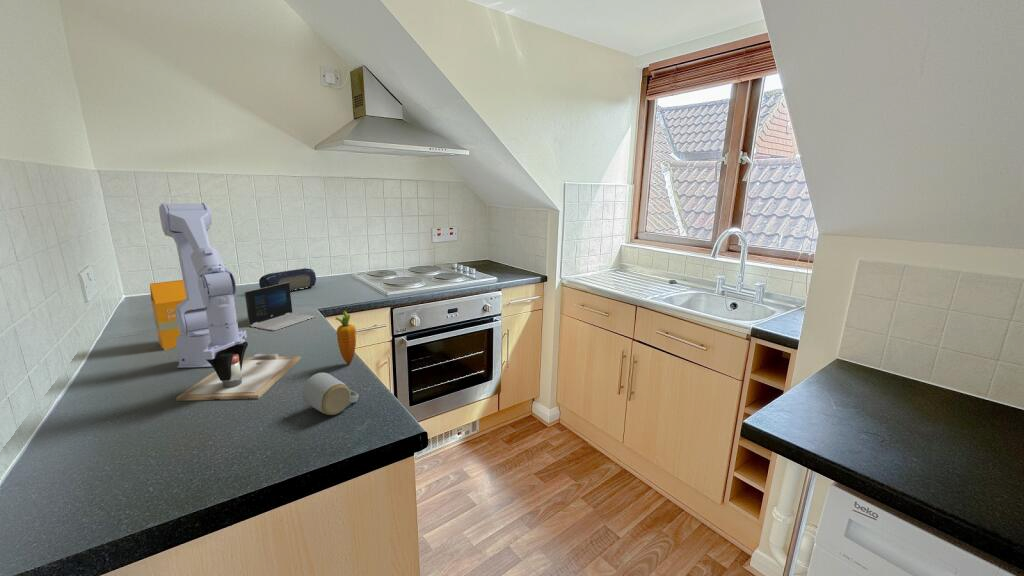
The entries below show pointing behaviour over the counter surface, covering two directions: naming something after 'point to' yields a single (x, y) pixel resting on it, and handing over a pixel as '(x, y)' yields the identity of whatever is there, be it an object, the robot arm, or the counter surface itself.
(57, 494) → the counter surface
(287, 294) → the laptop
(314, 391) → the ceramic mug
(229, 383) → the marker
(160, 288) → the orange juice
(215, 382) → the clipboard
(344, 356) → the carrot
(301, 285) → the portable speaker
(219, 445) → the counter surface
